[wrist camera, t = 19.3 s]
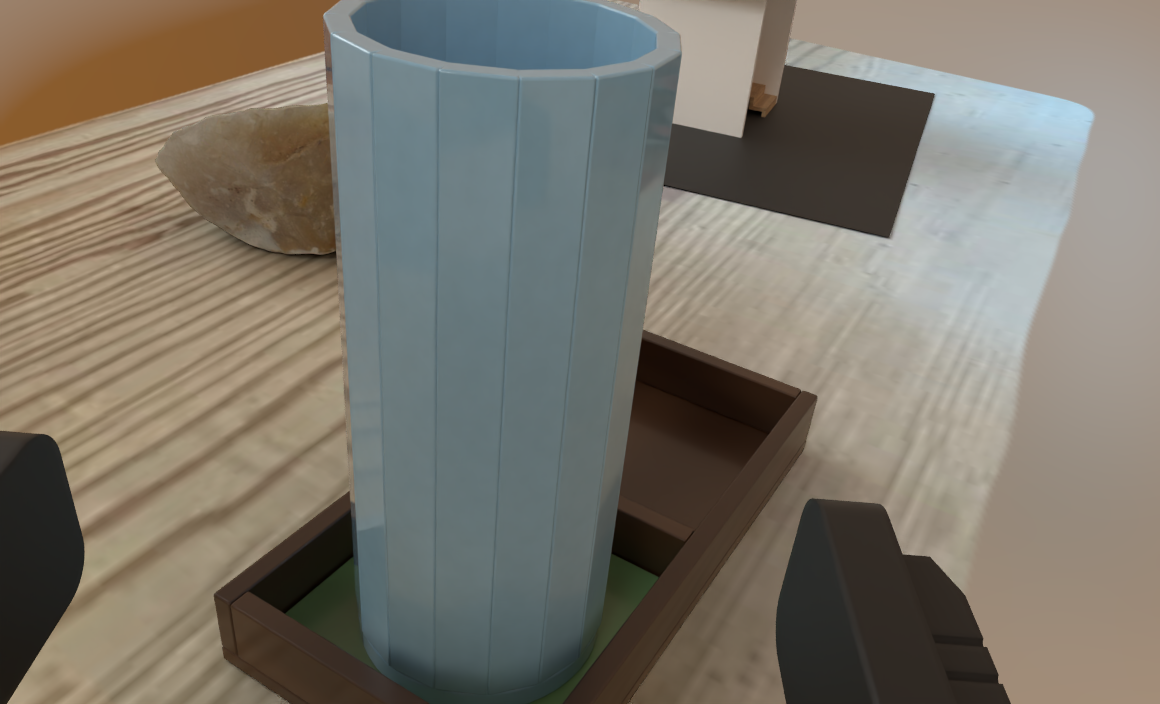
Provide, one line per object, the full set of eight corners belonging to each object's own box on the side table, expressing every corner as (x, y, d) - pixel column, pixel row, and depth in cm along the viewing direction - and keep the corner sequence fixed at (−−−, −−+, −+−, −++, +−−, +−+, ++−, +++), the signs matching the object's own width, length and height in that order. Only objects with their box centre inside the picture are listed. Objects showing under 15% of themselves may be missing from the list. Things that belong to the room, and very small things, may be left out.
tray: (804, 449, 29) (818, 395, 28) (521, 858, 18) (527, 793, 16) (583, 359, 32) (588, 308, 31) (223, 658, 21) (212, 593, 20)
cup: (527, 757, 19) (586, 105, 12) (307, 644, 20) (244, 21, 14) (637, 581, 23) (730, 24, 16) (446, 500, 25) (454, -31, 18)
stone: (128, 55, 34) (509, 13, 40) (156, 195, 39) (493, 138, 45) (176, 179, 30) (588, 111, 37) (200, 317, 35) (562, 235, 41)
